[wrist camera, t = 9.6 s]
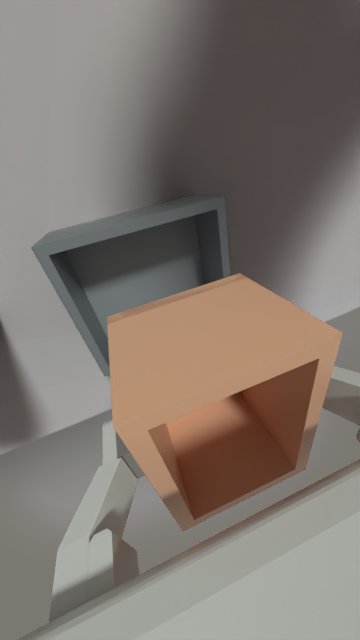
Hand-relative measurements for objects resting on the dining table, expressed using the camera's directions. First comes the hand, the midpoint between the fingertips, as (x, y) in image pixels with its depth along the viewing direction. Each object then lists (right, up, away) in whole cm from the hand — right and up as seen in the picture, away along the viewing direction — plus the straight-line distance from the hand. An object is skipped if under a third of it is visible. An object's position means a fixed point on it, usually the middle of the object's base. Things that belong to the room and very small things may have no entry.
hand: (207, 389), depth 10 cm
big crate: (-5, +8, +13) cm, 16 cm away
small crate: (-1, +1, +2) cm, 2 cm away
